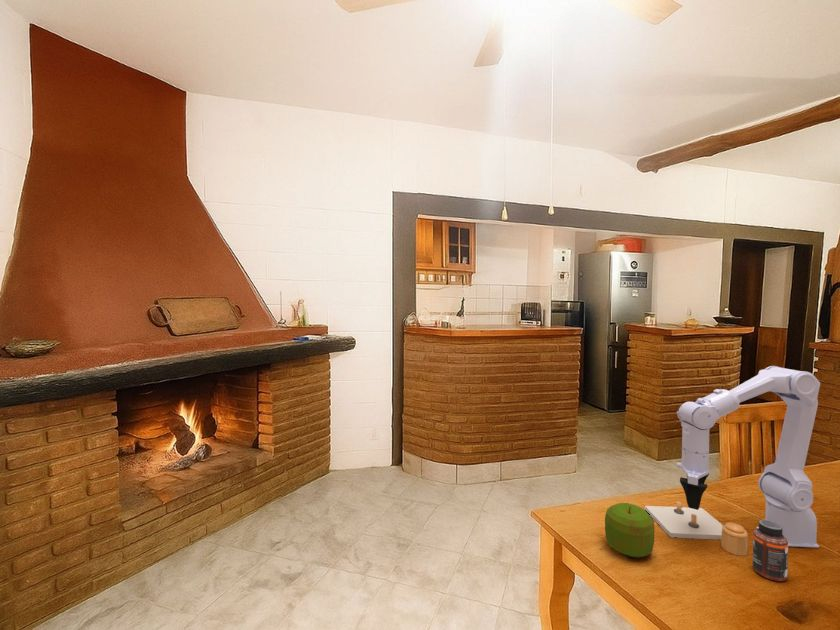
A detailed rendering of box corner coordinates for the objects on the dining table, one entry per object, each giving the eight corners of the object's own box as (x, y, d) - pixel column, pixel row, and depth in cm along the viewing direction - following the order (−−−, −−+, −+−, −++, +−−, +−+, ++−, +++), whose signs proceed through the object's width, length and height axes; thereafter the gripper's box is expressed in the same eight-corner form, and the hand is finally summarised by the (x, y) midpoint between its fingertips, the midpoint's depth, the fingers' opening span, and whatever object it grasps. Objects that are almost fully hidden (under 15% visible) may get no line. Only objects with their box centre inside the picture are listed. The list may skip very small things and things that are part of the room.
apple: (607, 532, 107) (607, 491, 107) (654, 544, 101) (654, 502, 101) (602, 554, 97) (602, 510, 97) (653, 569, 92) (654, 523, 91)
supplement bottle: (795, 582, 88) (796, 531, 87) (770, 583, 87) (771, 532, 87) (768, 564, 94) (770, 516, 93) (745, 565, 93) (746, 517, 93)
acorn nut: (737, 543, 102) (738, 521, 101) (752, 556, 97) (752, 532, 96) (717, 543, 102) (717, 520, 102) (730, 555, 97) (731, 531, 97)
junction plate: (701, 512, 117) (702, 498, 117) (735, 540, 103) (736, 524, 103) (644, 509, 118) (644, 496, 118) (670, 537, 104) (670, 522, 104)
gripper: (679, 439, 111) (679, 487, 112) (673, 455, 100) (672, 508, 100) (711, 444, 107) (710, 494, 107) (708, 461, 95) (707, 518, 96)
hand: (694, 502), depth 103 cm, fingers open, 7 cm apart
